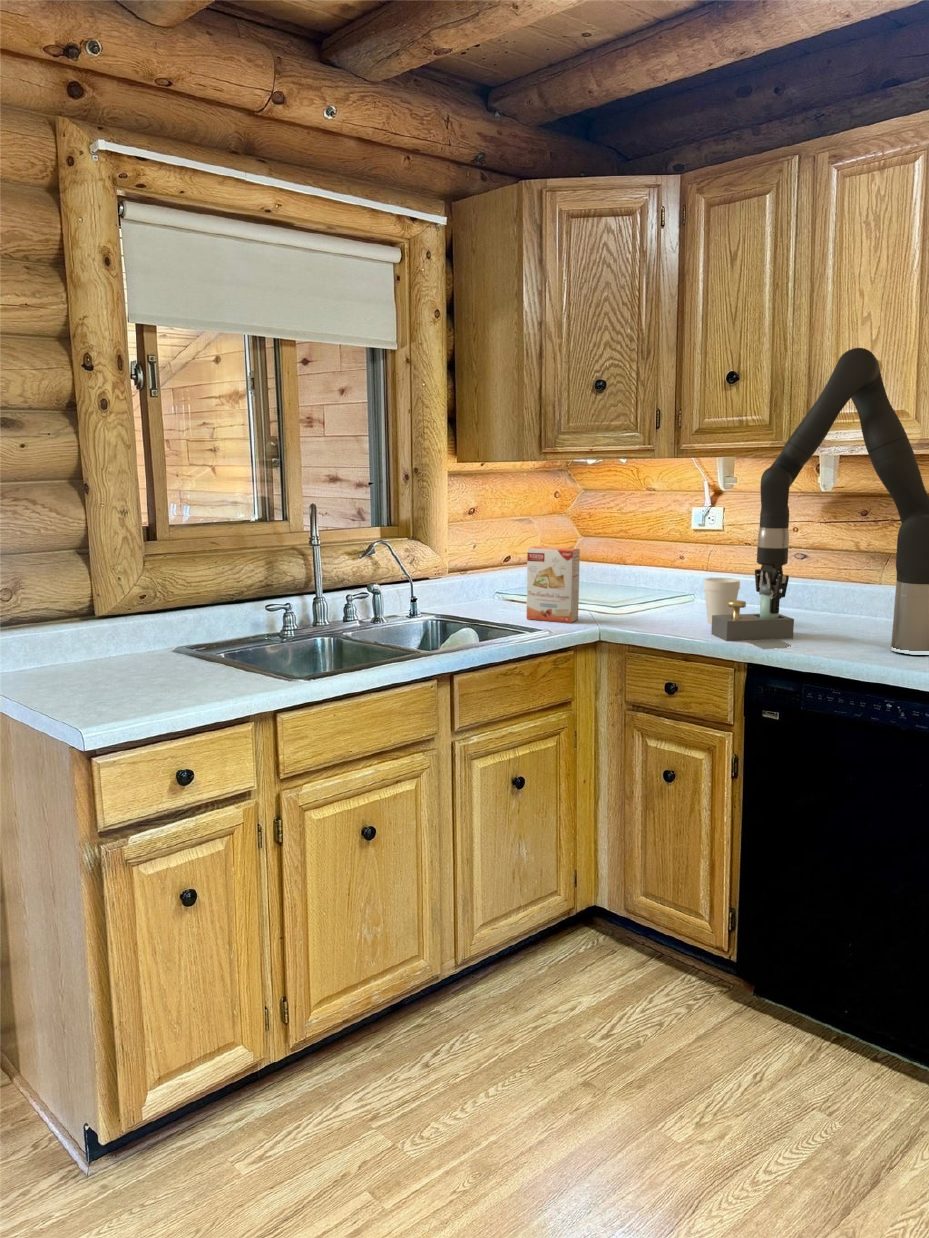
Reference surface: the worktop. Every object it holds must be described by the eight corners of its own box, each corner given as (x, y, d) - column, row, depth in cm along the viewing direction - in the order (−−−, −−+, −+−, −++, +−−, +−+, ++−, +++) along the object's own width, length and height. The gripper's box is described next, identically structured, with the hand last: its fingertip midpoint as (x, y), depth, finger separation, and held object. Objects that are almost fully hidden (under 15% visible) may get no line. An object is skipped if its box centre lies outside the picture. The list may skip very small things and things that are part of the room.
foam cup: (713, 630, 259) (715, 583, 257) (696, 624, 268) (698, 578, 265) (744, 628, 262) (746, 581, 259) (726, 622, 270) (728, 577, 268)
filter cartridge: (772, 633, 250) (775, 584, 247) (781, 637, 245) (784, 586, 243) (754, 634, 249) (757, 584, 247) (763, 637, 244) (766, 587, 242)
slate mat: (779, 644, 241) (779, 640, 241) (797, 651, 232) (797, 647, 232) (745, 645, 240) (745, 641, 240) (762, 652, 231) (762, 648, 231)
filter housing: (775, 635, 252) (776, 612, 251) (792, 642, 243) (794, 618, 242) (711, 637, 249) (712, 615, 248) (726, 644, 240) (727, 621, 239)
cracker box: (525, 619, 276) (526, 547, 272) (534, 616, 281) (534, 545, 277) (571, 624, 269) (572, 549, 265) (578, 620, 274) (580, 547, 271)
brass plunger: (739, 635, 248) (741, 600, 246) (747, 638, 244) (749, 602, 242) (723, 635, 247) (725, 600, 245) (730, 639, 243) (732, 603, 241)
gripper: (801, 548, 236) (796, 616, 239) (773, 542, 250) (769, 606, 253) (772, 548, 235) (768, 617, 238) (746, 542, 249) (743, 607, 252)
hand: (769, 611), depth 246 cm, fingers closed on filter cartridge, 4 cm apart
